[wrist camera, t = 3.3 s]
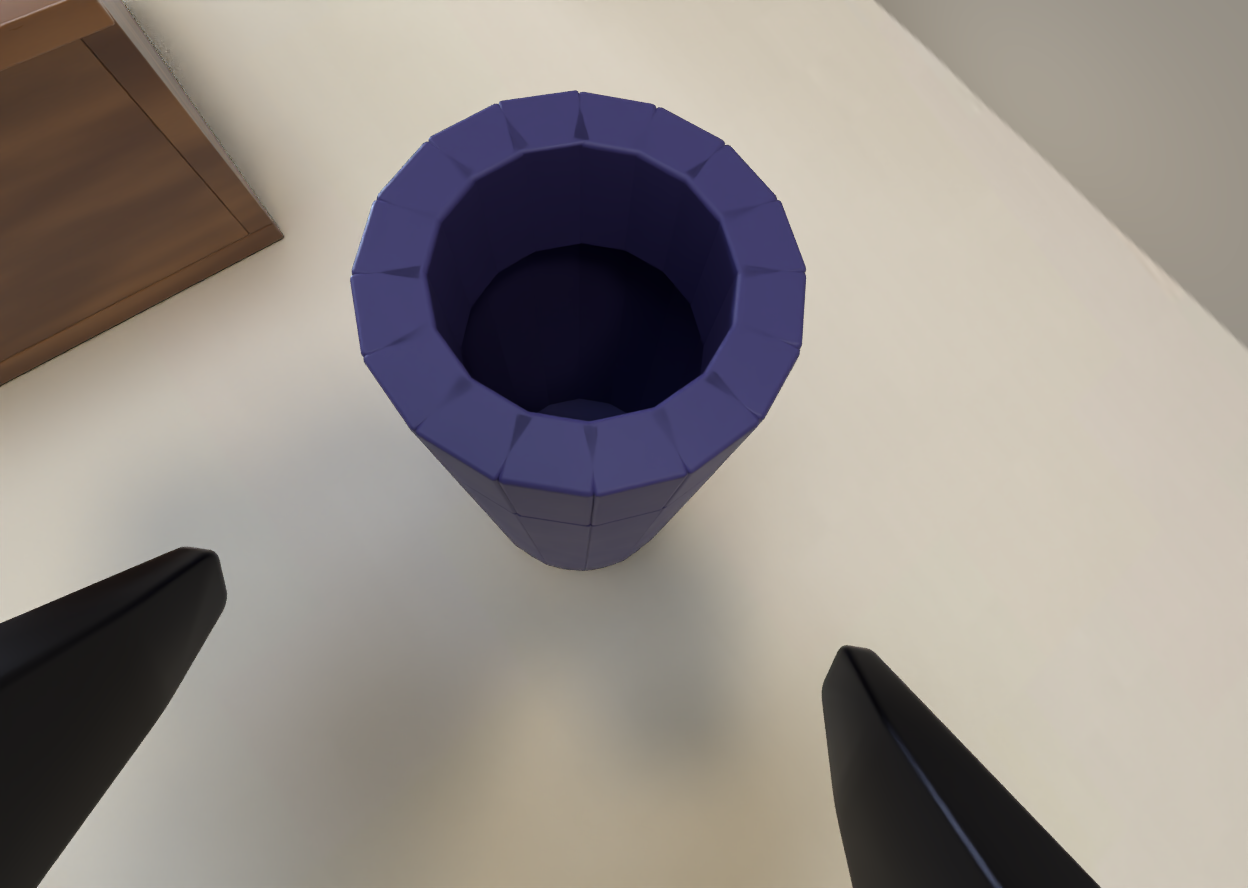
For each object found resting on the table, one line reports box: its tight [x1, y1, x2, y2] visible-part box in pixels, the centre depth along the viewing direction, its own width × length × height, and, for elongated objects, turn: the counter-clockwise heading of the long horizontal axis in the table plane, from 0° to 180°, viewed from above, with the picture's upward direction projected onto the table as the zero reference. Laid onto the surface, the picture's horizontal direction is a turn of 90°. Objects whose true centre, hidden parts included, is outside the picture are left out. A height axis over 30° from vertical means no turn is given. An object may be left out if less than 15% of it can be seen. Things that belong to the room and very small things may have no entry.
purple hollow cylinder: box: [350, 91, 806, 571], centre depth 14 cm, size 6×6×13 cm
